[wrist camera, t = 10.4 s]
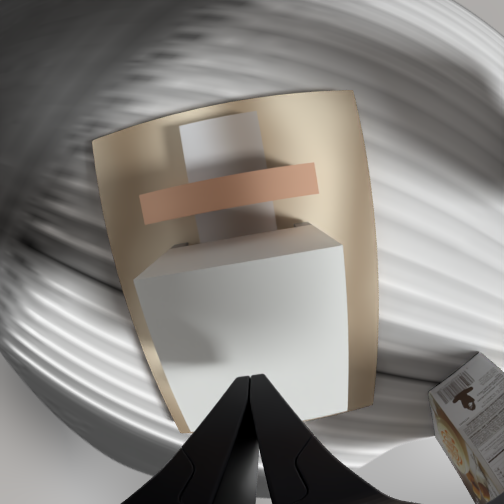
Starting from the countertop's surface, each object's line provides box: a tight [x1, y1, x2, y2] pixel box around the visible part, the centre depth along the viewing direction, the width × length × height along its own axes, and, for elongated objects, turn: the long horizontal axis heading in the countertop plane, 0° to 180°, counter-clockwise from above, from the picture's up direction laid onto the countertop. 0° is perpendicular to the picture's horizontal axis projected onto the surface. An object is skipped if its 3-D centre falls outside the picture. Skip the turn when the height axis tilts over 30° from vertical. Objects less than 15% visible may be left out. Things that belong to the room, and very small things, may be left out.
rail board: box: [92, 90, 379, 433], centre depth 14 cm, size 14×20×4 cm
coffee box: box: [428, 352, 504, 504], centre depth 11 cm, size 9×6×16 cm
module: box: [133, 222, 348, 432], centre depth 12 cm, size 7×7×6 cm
